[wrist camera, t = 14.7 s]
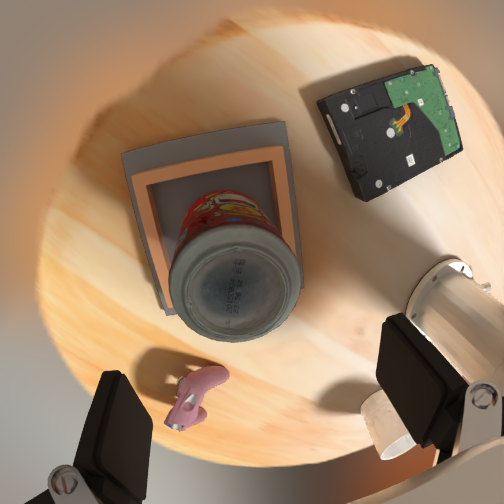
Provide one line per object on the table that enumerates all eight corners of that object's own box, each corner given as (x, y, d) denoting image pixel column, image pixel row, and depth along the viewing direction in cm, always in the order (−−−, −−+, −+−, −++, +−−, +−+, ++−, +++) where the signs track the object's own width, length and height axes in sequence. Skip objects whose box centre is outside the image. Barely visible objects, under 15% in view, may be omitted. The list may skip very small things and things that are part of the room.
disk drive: (353, 198, 28) (449, 147, 27) (366, 205, 26) (466, 150, 25) (311, 102, 24) (421, 63, 23) (322, 99, 22) (437, 60, 21)
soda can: (265, 185, 25) (314, 229, 14) (260, 262, 28) (297, 348, 17) (182, 185, 24) (160, 229, 13) (183, 263, 27) (172, 353, 15)
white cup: (351, 420, 42) (373, 465, 33) (363, 391, 39) (391, 439, 30) (389, 409, 43) (414, 449, 34) (404, 379, 40) (434, 421, 31)
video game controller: (200, 349, 33) (171, 380, 27) (234, 368, 33) (211, 404, 26) (178, 398, 36) (152, 429, 30) (207, 415, 36) (185, 449, 29)
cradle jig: (282, 121, 24) (291, 120, 21) (301, 284, 30) (310, 298, 28) (123, 153, 23) (114, 154, 20) (167, 311, 29) (164, 327, 27)
